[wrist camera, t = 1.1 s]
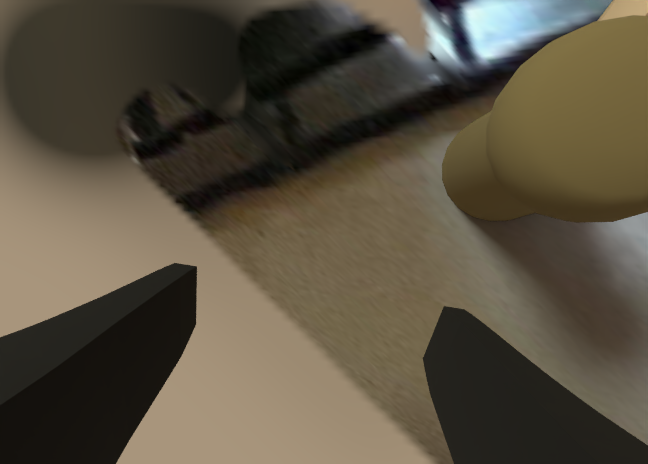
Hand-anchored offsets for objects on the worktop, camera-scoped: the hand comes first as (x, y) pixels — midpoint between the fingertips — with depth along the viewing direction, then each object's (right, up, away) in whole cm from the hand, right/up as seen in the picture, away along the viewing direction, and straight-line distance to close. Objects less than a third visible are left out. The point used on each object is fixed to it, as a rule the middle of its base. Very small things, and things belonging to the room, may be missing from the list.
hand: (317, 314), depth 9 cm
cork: (+10, +6, +9) cm, 15 cm away
